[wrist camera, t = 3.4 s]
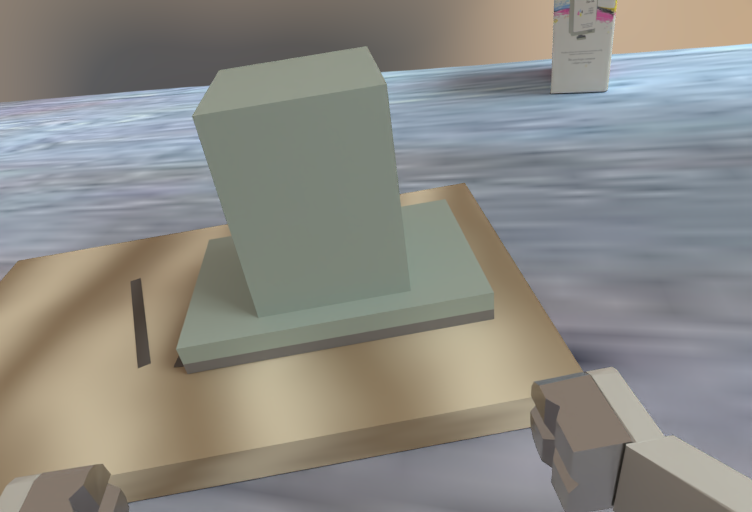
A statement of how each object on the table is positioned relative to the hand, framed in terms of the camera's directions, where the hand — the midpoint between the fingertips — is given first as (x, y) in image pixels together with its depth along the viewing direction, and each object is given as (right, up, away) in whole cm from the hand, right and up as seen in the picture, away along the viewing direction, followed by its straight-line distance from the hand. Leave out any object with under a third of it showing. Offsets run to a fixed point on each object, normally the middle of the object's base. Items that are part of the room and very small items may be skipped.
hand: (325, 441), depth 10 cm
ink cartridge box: (+20, +20, +39) cm, 48 cm away
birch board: (-5, 0, +14) cm, 15 cm away
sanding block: (-1, +2, +14) cm, 14 cm away
